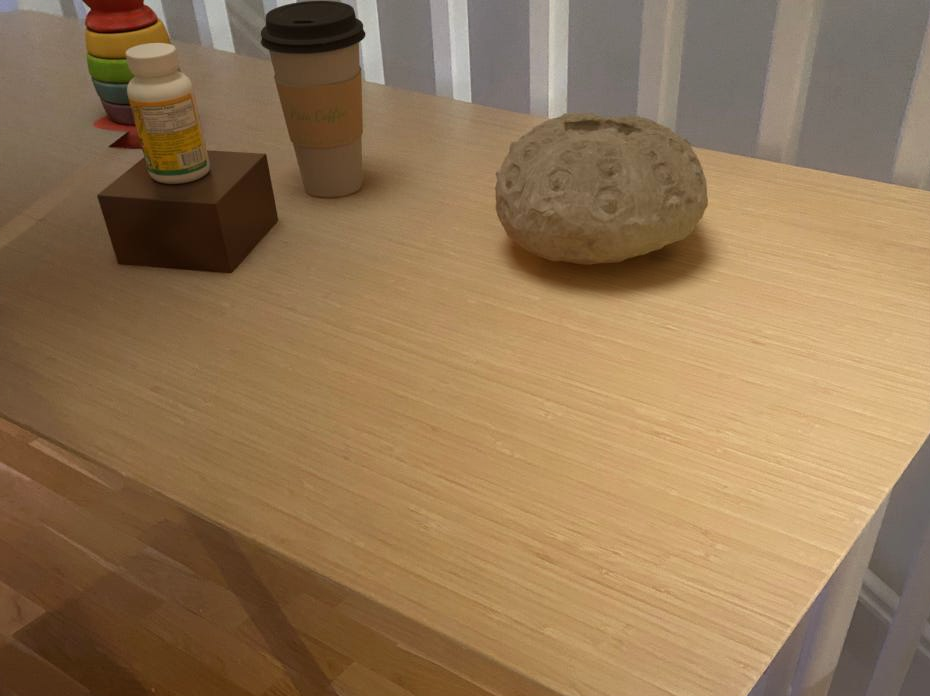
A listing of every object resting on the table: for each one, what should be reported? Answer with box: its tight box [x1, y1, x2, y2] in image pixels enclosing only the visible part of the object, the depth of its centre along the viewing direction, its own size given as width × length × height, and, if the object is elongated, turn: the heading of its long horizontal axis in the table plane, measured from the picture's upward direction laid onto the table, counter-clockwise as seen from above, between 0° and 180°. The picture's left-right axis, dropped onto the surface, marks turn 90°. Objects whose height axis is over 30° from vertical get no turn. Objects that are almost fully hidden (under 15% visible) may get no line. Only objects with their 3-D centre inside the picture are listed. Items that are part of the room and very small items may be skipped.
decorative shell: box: [494, 112, 709, 266], centre depth 83 cm, size 18×18×10 cm
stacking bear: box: [81, 0, 182, 149], centre depth 104 cm, size 11×10×18 cm
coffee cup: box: [260, 0, 366, 198], centre depth 93 cm, size 9×9×15 cm
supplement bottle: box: [126, 43, 210, 184], centre depth 82 cm, size 5×5×10 cm
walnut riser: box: [96, 149, 279, 274], centre depth 88 cm, size 11×11×6 cm
